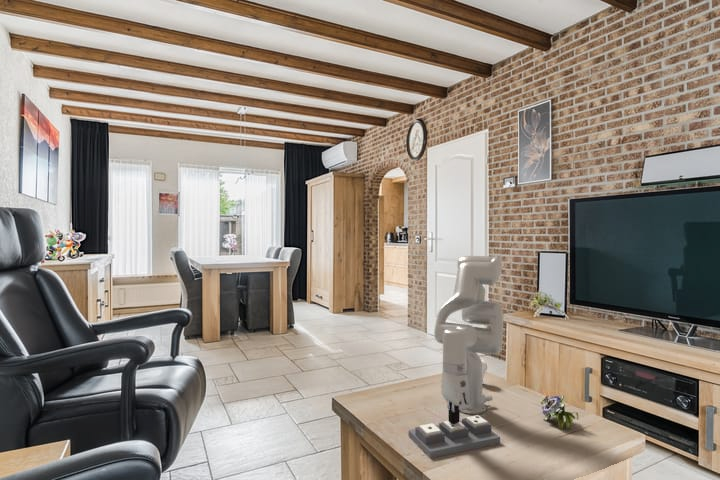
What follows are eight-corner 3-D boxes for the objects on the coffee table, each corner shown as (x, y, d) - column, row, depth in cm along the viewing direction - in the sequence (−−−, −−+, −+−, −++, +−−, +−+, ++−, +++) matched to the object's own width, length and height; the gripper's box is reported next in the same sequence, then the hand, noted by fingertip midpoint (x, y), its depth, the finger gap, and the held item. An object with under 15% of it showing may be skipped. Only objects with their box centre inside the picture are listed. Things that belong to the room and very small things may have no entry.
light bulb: (469, 380, 183) (470, 357, 183) (483, 380, 184) (483, 357, 184) (475, 386, 177) (475, 361, 177) (489, 386, 177) (489, 361, 177)
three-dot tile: (455, 427, 133) (455, 418, 133) (464, 434, 128) (464, 425, 128) (443, 430, 131) (443, 420, 131) (451, 437, 127) (451, 427, 127)
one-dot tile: (432, 432, 130) (432, 422, 130) (440, 439, 125) (440, 429, 125) (419, 434, 128) (419, 425, 128) (426, 442, 123) (427, 432, 123)
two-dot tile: (477, 423, 136) (478, 414, 136) (487, 430, 131) (487, 421, 131) (465, 426, 134) (465, 416, 134) (474, 432, 130) (475, 423, 130)
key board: (473, 423, 141) (473, 411, 141) (500, 443, 128) (500, 429, 128) (408, 436, 132) (408, 422, 132) (430, 458, 119) (430, 443, 119)
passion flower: (546, 435, 144) (535, 400, 151) (577, 431, 143) (564, 396, 150) (552, 429, 135) (540, 393, 142) (585, 425, 134) (571, 389, 141)
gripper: (478, 373, 124) (477, 430, 124) (451, 358, 138) (450, 410, 138) (457, 375, 121) (457, 435, 122) (432, 361, 135) (432, 414, 136)
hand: (453, 422), depth 130 cm, fingers closed
